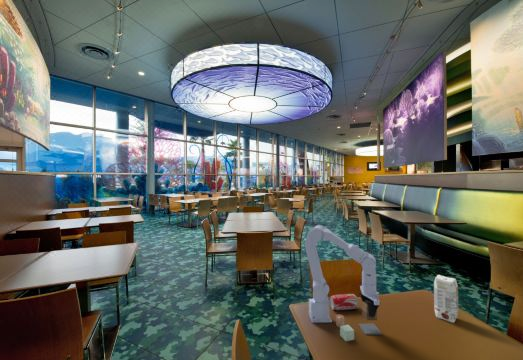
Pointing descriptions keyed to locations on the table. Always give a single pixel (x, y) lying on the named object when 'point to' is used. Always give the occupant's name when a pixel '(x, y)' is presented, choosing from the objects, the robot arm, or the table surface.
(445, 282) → the white food bag
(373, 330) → the slate coaster
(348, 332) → the pale green cube
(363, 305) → the walnut block
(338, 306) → the soda can
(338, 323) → the pinkish brown rounded cylinder
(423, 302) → the table surface
